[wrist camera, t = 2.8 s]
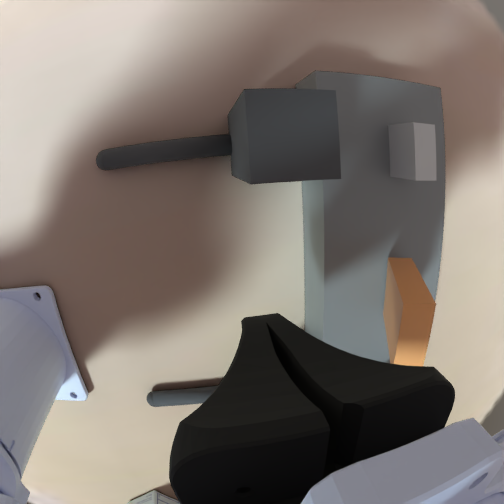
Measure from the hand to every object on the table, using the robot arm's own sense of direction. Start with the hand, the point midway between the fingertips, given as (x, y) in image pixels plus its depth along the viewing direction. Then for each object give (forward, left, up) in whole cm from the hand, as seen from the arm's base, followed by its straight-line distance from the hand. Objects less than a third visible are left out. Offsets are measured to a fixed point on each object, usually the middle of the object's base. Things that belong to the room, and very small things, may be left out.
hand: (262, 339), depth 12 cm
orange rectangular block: (+7, 0, -3) cm, 8 cm away
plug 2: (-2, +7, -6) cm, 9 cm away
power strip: (+7, 0, -6) cm, 9 cm away
